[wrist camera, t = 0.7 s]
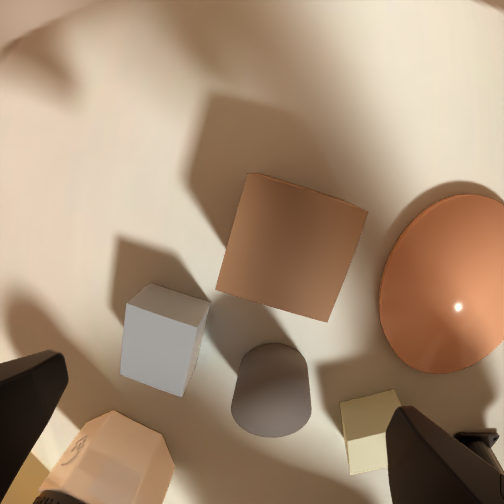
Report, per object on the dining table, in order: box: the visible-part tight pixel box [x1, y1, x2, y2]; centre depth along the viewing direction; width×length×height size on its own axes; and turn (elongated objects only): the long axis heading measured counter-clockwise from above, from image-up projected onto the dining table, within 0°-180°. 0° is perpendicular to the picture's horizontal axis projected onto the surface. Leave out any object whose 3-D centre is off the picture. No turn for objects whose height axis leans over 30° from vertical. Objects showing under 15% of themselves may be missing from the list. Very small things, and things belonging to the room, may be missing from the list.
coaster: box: [379, 194, 504, 374], centre depth 17 cm, size 12×12×1 cm
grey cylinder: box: [231, 343, 311, 437], centre depth 18 cm, size 4×4×4 cm
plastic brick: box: [120, 283, 211, 397], centre depth 18 cm, size 4×5×4 cm
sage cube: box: [340, 389, 401, 475], centre depth 19 cm, size 4×4×4 cm
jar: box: [33, 410, 175, 504], centre depth 18 cm, size 9×8×12 cm
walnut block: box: [215, 173, 368, 322], centre depth 15 cm, size 5×5×5 cm
